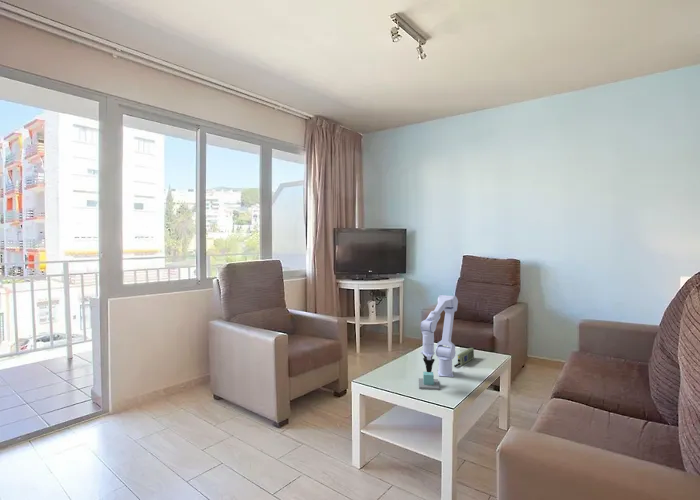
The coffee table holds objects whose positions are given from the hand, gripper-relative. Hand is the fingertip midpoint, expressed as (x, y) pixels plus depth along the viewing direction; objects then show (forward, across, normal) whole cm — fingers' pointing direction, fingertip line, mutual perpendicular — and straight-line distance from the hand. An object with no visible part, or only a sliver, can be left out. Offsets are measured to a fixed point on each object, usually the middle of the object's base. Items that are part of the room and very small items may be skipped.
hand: (428, 369), depth 194 cm
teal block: (+7, 0, 0) cm, 7 cm away
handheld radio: (+9, -39, +23) cm, 46 cm away
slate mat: (+8, 0, 0) cm, 8 cm away
